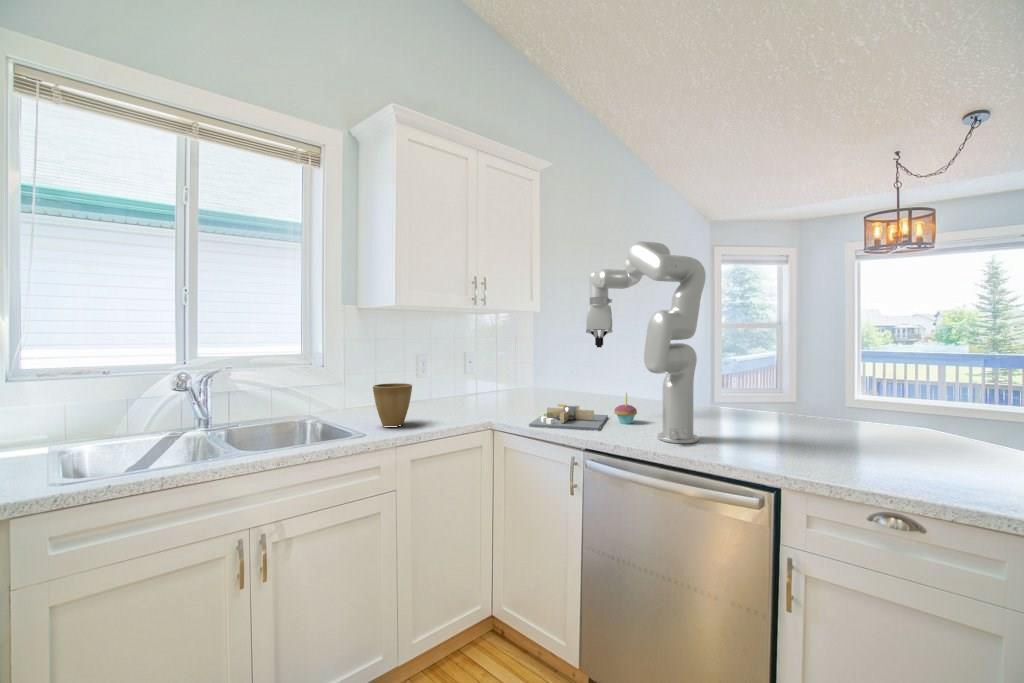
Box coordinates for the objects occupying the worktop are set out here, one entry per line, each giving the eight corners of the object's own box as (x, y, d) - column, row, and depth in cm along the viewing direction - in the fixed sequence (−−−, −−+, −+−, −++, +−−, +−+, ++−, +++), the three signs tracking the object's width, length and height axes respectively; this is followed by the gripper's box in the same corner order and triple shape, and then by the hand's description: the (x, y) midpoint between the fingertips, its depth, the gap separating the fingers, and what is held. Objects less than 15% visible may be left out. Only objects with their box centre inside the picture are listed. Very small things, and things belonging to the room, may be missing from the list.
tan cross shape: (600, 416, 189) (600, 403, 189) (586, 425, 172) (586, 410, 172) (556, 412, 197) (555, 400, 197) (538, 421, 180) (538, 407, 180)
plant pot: (407, 429, 173) (407, 387, 173) (368, 430, 174) (367, 387, 173) (416, 421, 188) (416, 382, 188) (380, 422, 189) (379, 382, 188)
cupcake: (639, 425, 177) (639, 393, 177) (616, 425, 177) (616, 393, 177) (633, 420, 186) (633, 390, 185) (612, 420, 186) (612, 390, 186)
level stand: (598, 430, 168) (598, 422, 168) (529, 426, 177) (529, 419, 177) (607, 417, 193) (607, 410, 193) (546, 414, 201) (546, 407, 201)
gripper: (618, 302, 192) (618, 347, 192) (582, 303, 196) (582, 346, 197) (616, 301, 184) (616, 347, 185) (579, 302, 189) (579, 347, 190)
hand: (599, 347), depth 191 cm, fingers closed
